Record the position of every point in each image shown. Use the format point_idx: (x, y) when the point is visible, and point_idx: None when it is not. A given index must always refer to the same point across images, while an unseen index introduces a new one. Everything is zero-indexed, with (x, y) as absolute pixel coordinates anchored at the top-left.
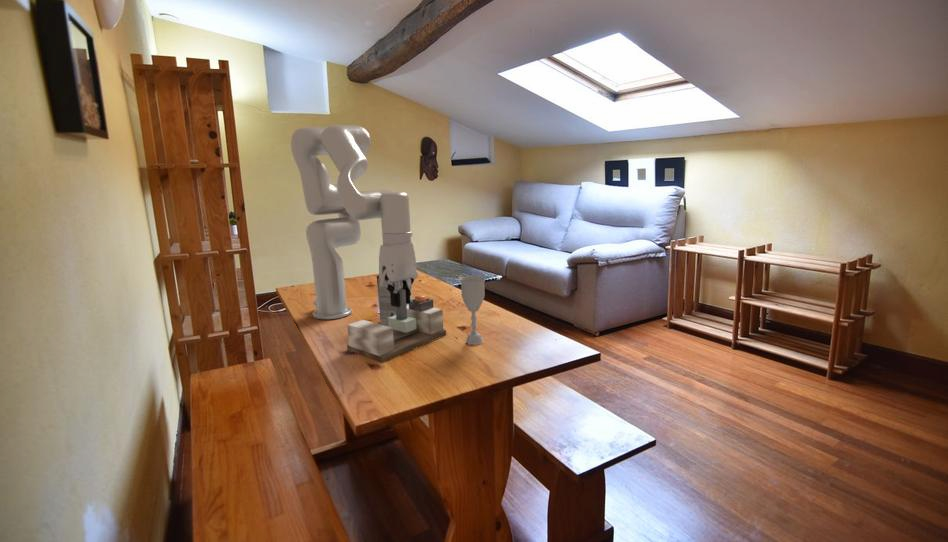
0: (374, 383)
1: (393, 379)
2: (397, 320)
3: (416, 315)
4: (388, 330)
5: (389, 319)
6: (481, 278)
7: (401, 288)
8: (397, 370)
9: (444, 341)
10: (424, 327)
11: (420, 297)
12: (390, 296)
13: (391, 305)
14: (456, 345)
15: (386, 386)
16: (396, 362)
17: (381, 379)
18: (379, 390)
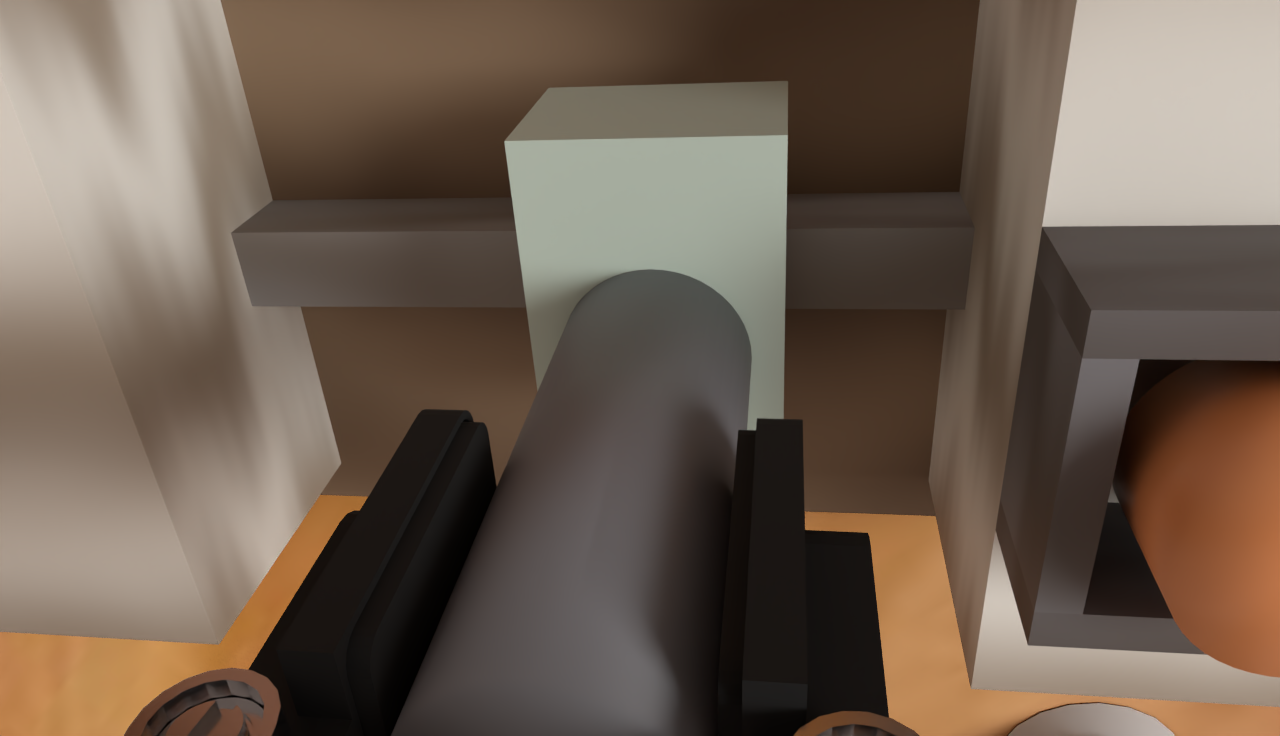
0: (10, 640)
1: (141, 690)
2: (536, 377)
3: (993, 368)
4: (157, 631)
5: (517, 175)
6: None
7: (762, 700)
8: (229, 631)
9: (946, 570)
10: (950, 419)
11: (1211, 628)
12: (280, 622)
13: (432, 409)
14: (916, 697)
15: (63, 713)
16: (297, 539)
17: (72, 637)
18: (7, 714)
